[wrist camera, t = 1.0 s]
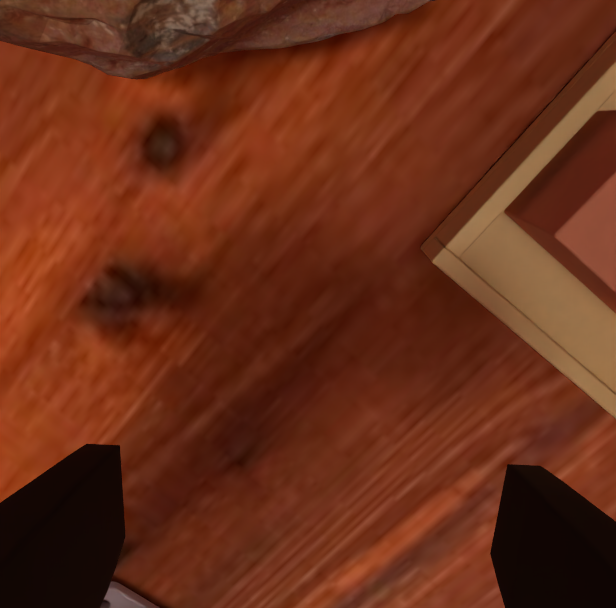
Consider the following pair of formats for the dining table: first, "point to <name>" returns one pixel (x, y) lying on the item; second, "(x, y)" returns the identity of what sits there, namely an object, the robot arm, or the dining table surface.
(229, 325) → the dining table surface
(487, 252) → the frame
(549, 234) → the rose pad
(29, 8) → the stone
